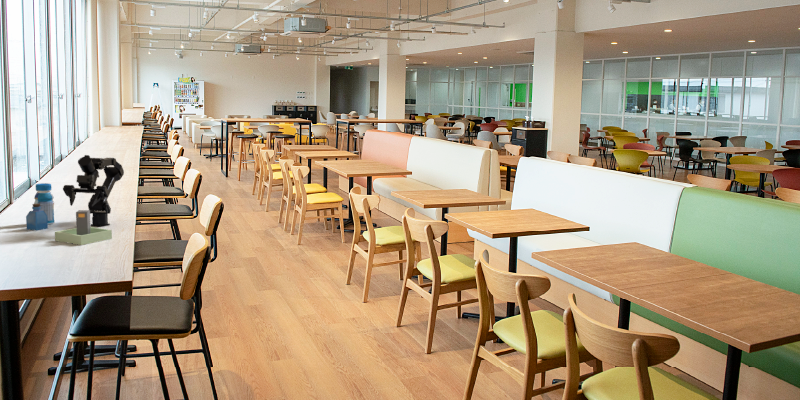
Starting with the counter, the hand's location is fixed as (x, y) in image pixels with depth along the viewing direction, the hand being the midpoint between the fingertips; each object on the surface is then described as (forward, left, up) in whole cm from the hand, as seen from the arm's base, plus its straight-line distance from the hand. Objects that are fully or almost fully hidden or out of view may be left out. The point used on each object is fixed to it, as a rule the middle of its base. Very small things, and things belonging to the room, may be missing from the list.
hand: (81, 205), depth 277 cm
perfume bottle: (+3, -27, -14) cm, 30 cm away
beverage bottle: (-7, -35, -14) cm, 38 cm away
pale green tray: (+8, +10, -14) cm, 19 cm away
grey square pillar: (+8, +10, -13) cm, 18 cm away
